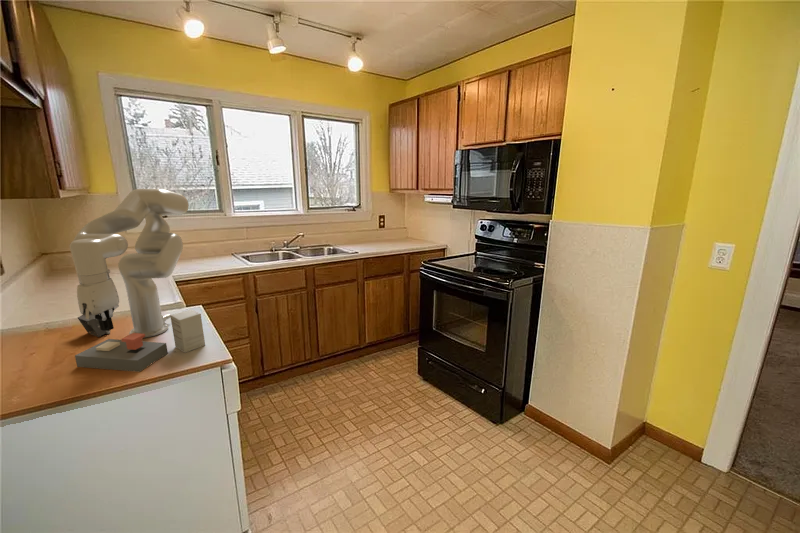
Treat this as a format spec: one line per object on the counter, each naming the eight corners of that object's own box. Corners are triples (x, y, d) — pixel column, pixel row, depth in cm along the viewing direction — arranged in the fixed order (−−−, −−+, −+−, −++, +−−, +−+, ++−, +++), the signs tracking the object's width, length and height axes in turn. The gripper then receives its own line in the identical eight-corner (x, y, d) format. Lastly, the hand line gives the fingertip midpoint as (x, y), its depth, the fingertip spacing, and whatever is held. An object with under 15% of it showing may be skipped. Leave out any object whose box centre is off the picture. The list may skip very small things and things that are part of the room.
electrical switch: (111, 333, 137) (104, 312, 134) (96, 340, 132) (88, 318, 129) (98, 329, 141) (90, 308, 138) (82, 335, 136) (74, 314, 133)
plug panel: (110, 349, 125) (108, 338, 124) (167, 353, 123) (166, 342, 122) (77, 366, 113) (74, 355, 112) (139, 371, 111) (137, 360, 110)
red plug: (134, 343, 119) (132, 332, 118) (146, 344, 118) (144, 333, 117) (123, 350, 114) (121, 338, 113) (135, 350, 114) (133, 339, 113)
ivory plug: (110, 352, 121) (108, 341, 120) (121, 352, 120) (119, 342, 119) (98, 358, 116) (95, 347, 115) (110, 359, 116) (107, 348, 115)
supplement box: (195, 339, 133) (191, 308, 130) (205, 345, 129) (201, 313, 126) (174, 347, 127) (169, 314, 124) (184, 353, 123) (179, 319, 120)
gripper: (104, 269, 119) (117, 319, 125) (59, 285, 105) (75, 339, 110) (125, 271, 118) (136, 320, 124) (82, 286, 104) (96, 341, 110)
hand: (107, 329), depth 117 cm, fingers closed
